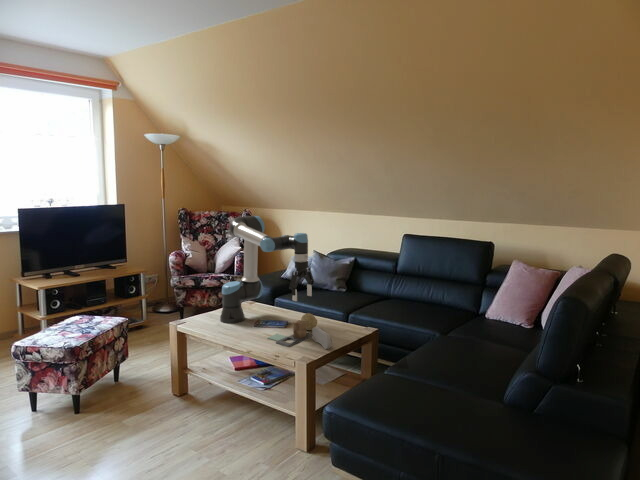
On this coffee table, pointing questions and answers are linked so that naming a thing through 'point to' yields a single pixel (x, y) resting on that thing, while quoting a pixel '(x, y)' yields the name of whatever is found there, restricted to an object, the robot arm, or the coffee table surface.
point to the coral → (309, 321)
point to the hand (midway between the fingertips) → (302, 298)
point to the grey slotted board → (296, 340)
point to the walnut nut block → (299, 329)
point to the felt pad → (277, 337)
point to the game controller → (321, 337)
